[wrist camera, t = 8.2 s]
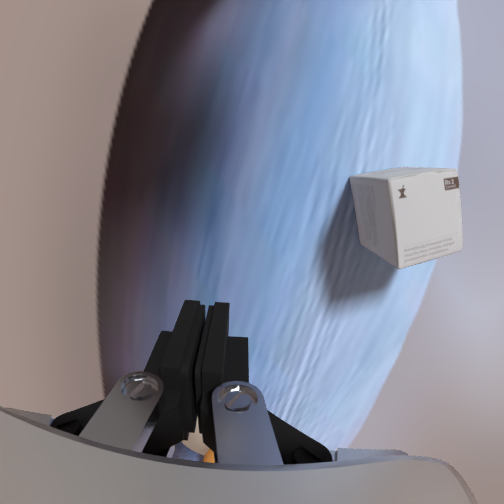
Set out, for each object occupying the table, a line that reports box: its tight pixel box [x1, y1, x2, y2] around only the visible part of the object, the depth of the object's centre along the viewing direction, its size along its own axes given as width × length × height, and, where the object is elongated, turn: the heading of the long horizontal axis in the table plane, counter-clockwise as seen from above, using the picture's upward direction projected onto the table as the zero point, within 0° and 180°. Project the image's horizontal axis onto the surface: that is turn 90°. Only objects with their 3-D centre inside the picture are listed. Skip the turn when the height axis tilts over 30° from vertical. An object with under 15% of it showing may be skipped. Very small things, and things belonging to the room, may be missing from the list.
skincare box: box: [349, 167, 463, 269], centre depth 20 cm, size 6×6×7 cm
